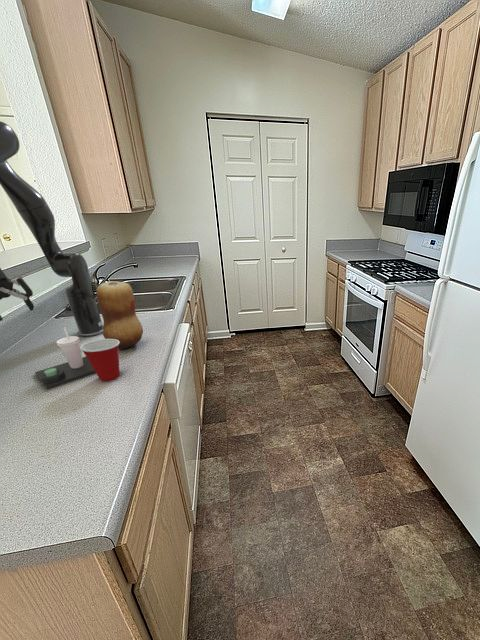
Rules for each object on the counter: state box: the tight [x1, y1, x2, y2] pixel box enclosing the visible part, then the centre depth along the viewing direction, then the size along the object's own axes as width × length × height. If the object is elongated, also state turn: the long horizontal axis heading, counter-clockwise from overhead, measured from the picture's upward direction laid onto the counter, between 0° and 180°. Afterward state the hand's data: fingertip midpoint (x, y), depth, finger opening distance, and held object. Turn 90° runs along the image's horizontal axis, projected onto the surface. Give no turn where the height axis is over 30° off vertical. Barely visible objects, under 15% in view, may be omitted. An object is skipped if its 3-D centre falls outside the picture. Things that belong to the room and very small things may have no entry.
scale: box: [34, 356, 96, 391], centre depth 110 cm, size 14×16×3 cm
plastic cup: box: [80, 338, 121, 382], centre depth 105 cm, size 11×11×12 cm
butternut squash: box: [96, 280, 144, 350], centre depth 124 cm, size 14×13×25 cm
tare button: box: [44, 368, 58, 377], centre depth 104 cm, size 3×3×2 cm
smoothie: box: [56, 326, 83, 368], centre depth 109 cm, size 6×6×14 cm
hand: (16, 314), depth 105 cm, fingers open, 8 cm apart
